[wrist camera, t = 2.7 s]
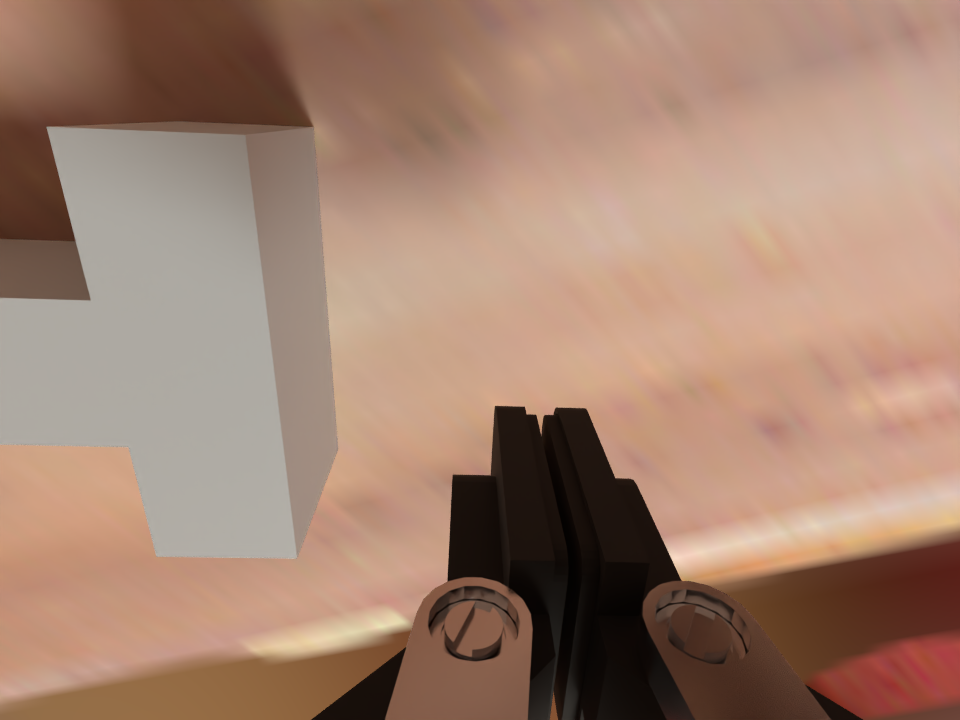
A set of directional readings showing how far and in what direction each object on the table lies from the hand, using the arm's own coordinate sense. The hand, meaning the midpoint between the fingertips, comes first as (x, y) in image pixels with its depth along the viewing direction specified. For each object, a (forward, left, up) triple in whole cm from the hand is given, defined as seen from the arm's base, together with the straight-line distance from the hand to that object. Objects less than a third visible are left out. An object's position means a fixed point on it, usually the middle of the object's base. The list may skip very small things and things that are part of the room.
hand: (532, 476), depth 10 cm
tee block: (-1, -10, -7) cm, 13 cm away
